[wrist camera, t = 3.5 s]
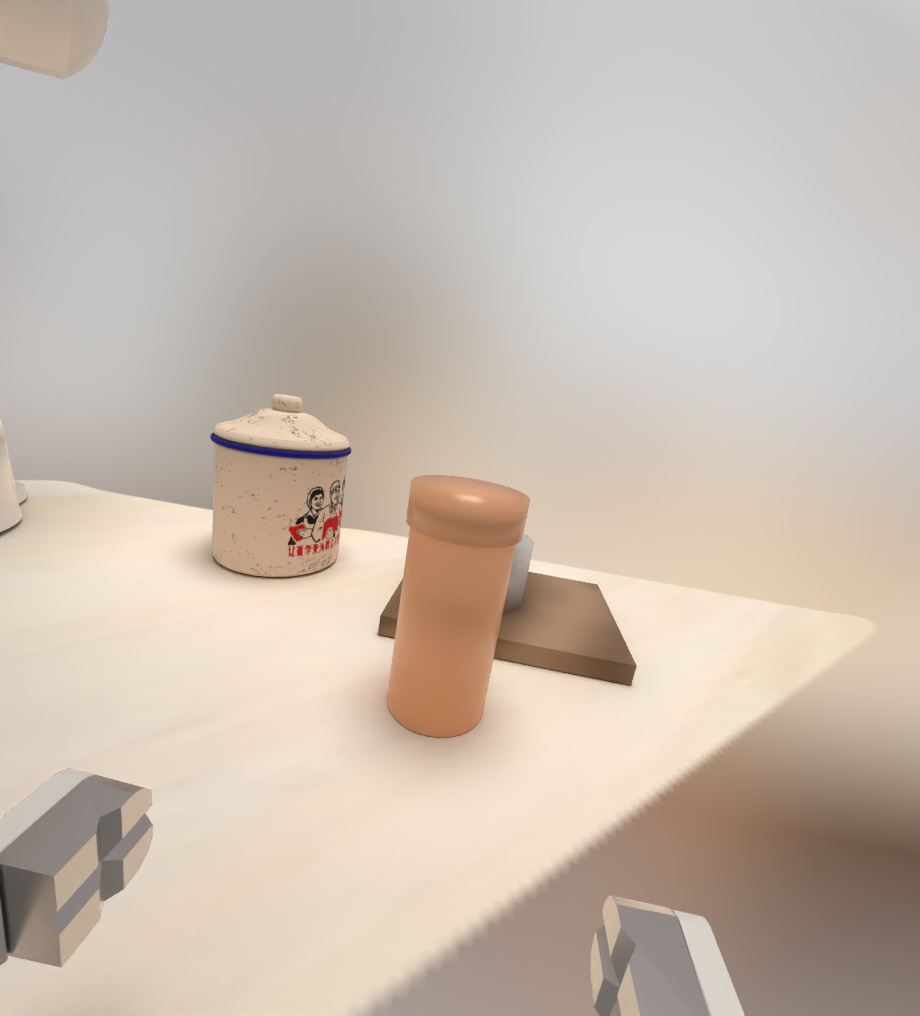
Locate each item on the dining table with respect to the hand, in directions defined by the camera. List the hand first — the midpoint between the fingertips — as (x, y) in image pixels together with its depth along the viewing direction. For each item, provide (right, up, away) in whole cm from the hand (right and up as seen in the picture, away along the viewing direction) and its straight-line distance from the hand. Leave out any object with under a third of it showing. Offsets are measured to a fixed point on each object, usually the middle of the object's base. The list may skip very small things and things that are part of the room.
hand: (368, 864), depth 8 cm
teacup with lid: (-12, +3, +27) cm, 30 cm away
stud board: (+5, -1, +22) cm, 23 cm away
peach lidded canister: (+1, -3, +13) cm, 13 cm away
